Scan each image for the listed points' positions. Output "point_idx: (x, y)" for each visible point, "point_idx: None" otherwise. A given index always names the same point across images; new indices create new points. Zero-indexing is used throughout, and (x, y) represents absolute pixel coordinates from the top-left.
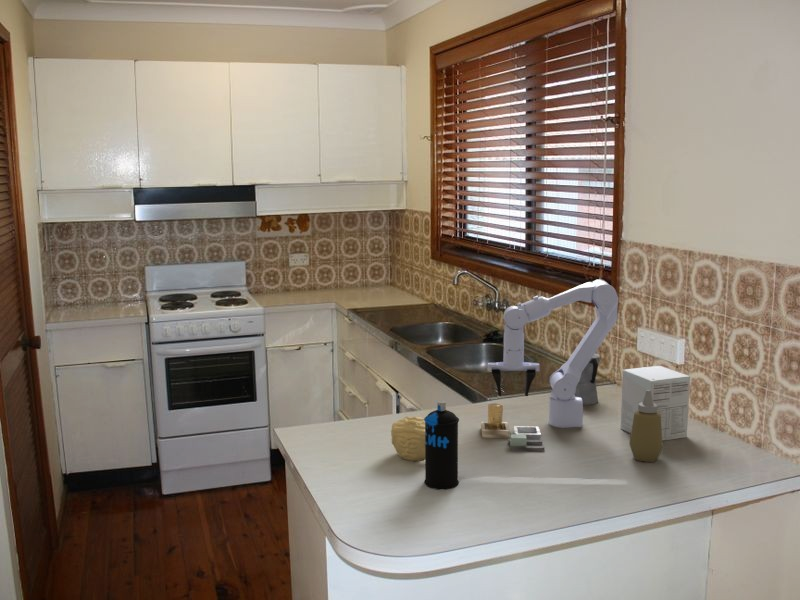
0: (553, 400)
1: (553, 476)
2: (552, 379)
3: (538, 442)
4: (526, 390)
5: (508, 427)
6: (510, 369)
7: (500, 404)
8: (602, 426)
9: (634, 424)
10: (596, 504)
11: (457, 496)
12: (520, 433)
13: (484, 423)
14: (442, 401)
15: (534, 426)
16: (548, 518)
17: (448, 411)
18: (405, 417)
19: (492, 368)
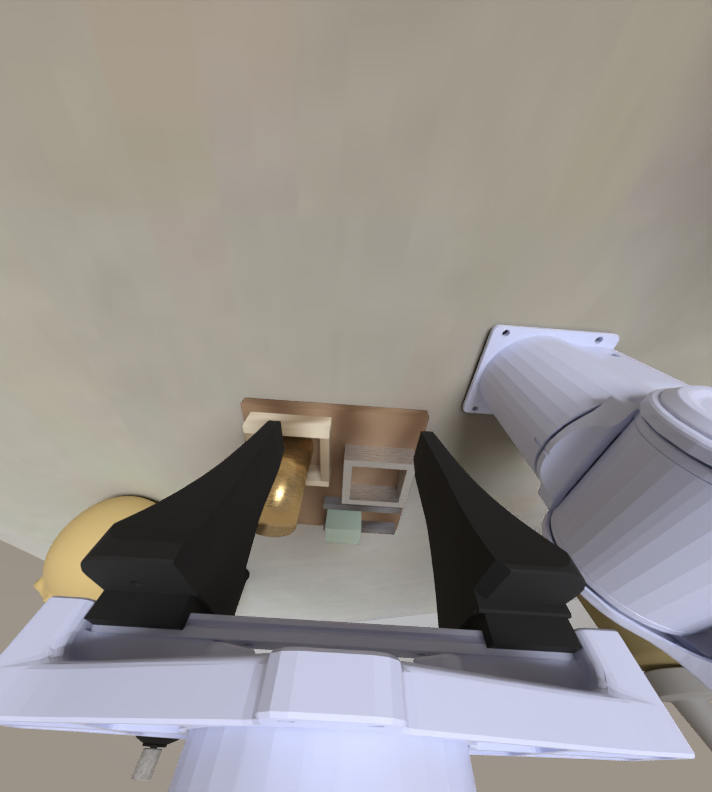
0: (534, 471)
1: (383, 566)
2: (663, 524)
3: (390, 511)
4: (421, 491)
5: (328, 468)
6: (305, 643)
7: (287, 515)
8: (668, 373)
9: (601, 625)
10: (410, 604)
11: (254, 589)
12: (354, 500)
13: (254, 431)
14: (141, 779)
15: (405, 465)
16: (351, 614)
17: (169, 742)
18: (45, 601)
19: (108, 642)
